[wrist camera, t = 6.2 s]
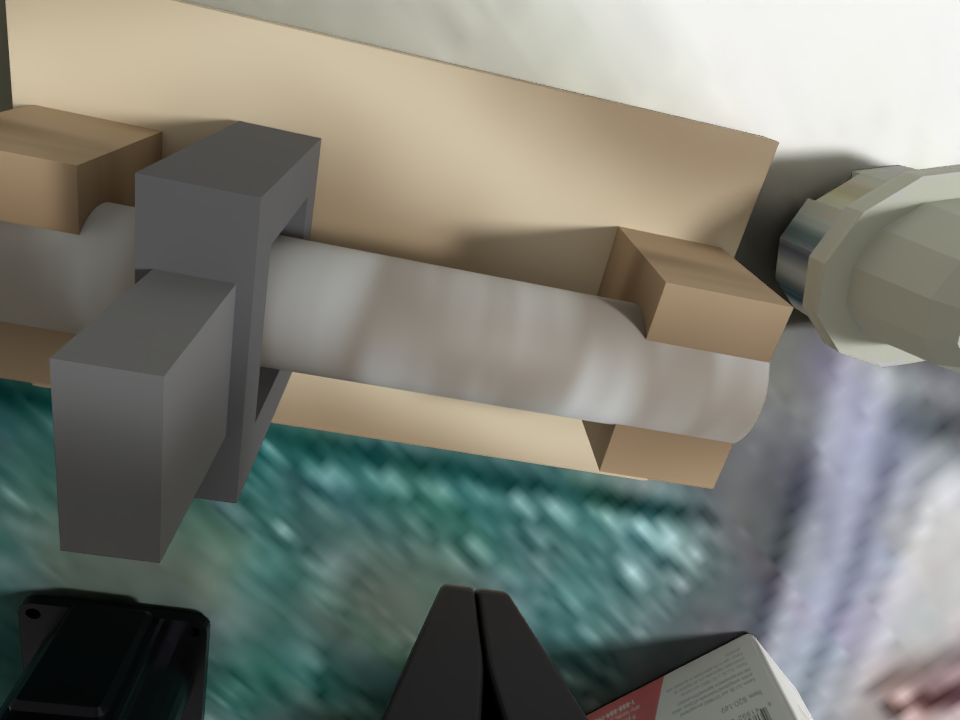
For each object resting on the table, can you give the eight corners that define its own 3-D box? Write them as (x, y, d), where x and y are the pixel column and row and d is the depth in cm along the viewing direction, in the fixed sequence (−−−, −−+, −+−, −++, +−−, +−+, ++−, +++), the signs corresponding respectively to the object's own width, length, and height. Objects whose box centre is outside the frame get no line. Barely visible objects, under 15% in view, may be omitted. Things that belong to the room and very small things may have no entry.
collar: (295, 363, 20) (177, 641, 11) (224, 351, 20) (44, 626, 11) (321, 138, 17) (192, 265, 8) (239, 120, 17) (15, 233, 8)
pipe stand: (638, 463, 24) (698, 596, 18) (50, 369, 21) (-88, 493, 16) (763, 136, 19) (893, 183, 13) (26, -36, 16) (-182, -64, 11)
